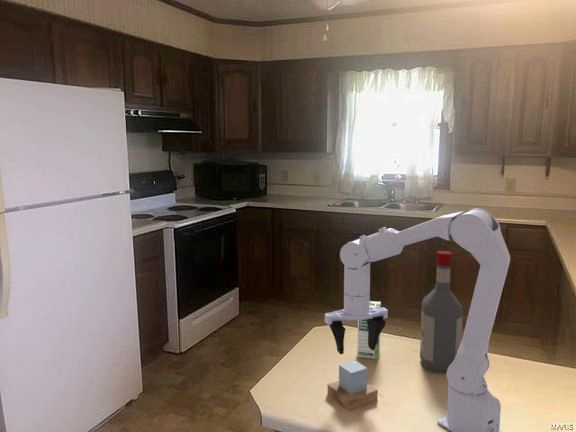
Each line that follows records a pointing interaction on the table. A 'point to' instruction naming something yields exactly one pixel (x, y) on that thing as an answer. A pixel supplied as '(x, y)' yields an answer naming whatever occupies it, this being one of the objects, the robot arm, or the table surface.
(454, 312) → the liquor
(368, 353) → the syrup box
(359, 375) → the blue block
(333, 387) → the walnut block
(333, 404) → the table surface
